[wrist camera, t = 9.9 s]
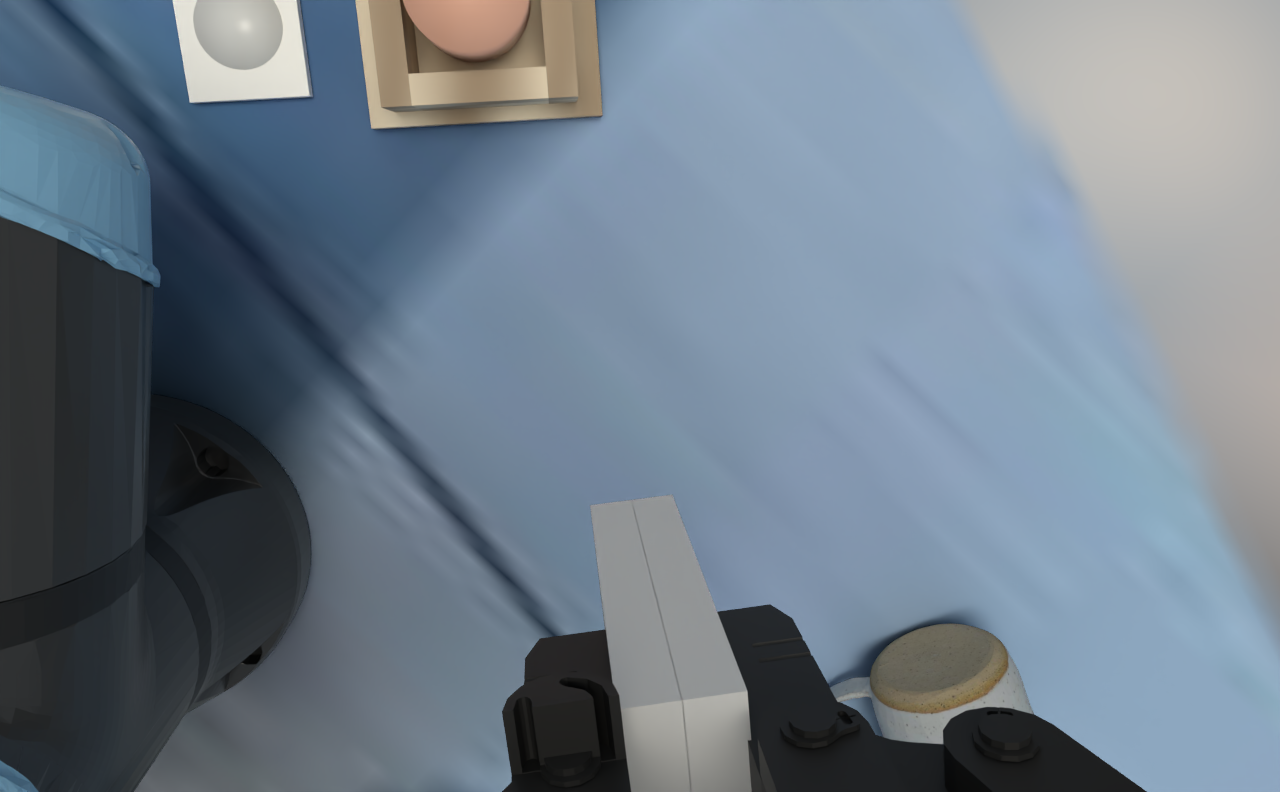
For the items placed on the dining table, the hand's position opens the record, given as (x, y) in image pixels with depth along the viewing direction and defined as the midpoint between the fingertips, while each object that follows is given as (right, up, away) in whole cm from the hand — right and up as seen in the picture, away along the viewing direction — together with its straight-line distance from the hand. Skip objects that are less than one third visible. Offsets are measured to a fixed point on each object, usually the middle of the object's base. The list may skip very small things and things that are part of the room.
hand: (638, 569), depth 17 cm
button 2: (-7, +19, +20) cm, 28 cm away
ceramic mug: (+14, -13, +34) cm, 39 cm away
